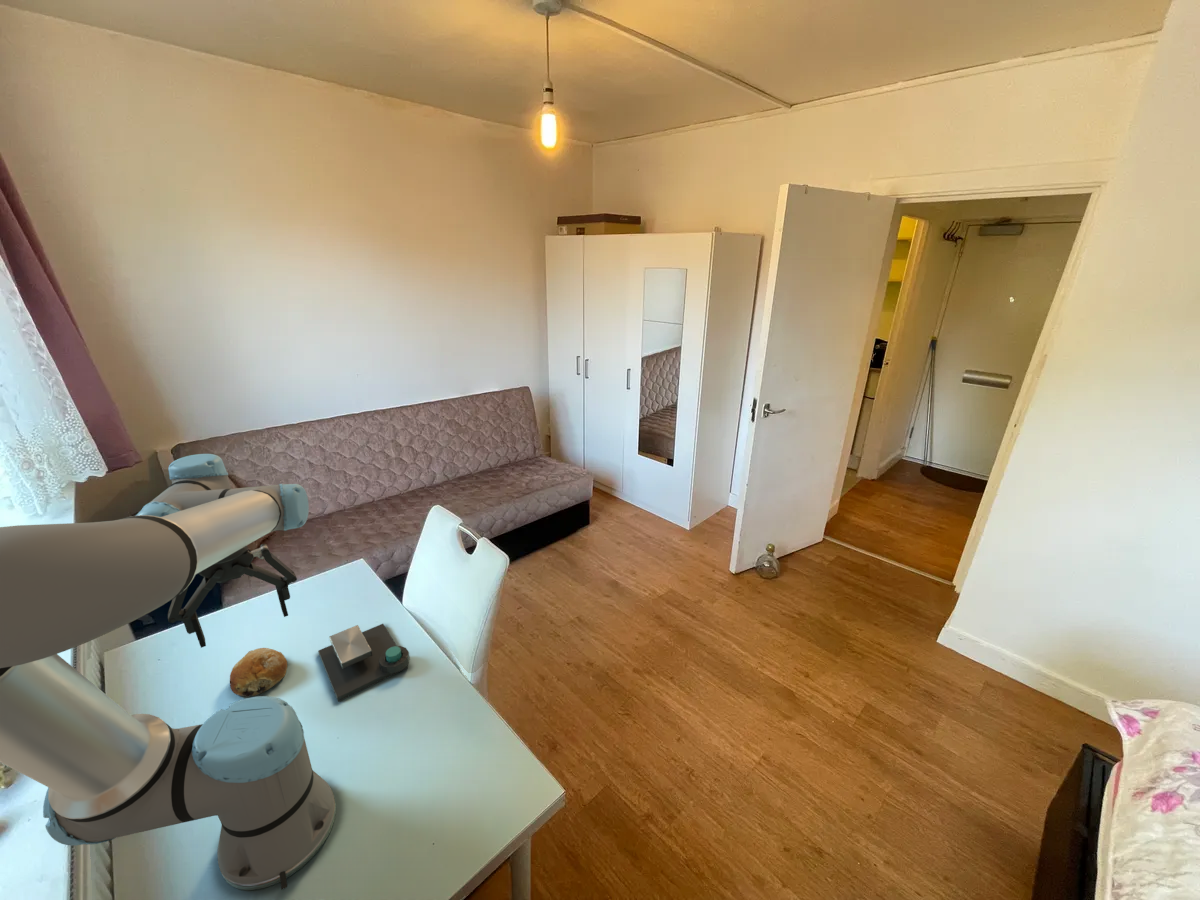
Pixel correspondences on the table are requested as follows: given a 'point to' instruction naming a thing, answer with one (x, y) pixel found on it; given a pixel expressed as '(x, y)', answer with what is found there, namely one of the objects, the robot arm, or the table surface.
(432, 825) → the table surface
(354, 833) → the table surface
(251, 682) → the bread roll
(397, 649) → the tare button
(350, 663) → the silver metal plate
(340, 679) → the scale
